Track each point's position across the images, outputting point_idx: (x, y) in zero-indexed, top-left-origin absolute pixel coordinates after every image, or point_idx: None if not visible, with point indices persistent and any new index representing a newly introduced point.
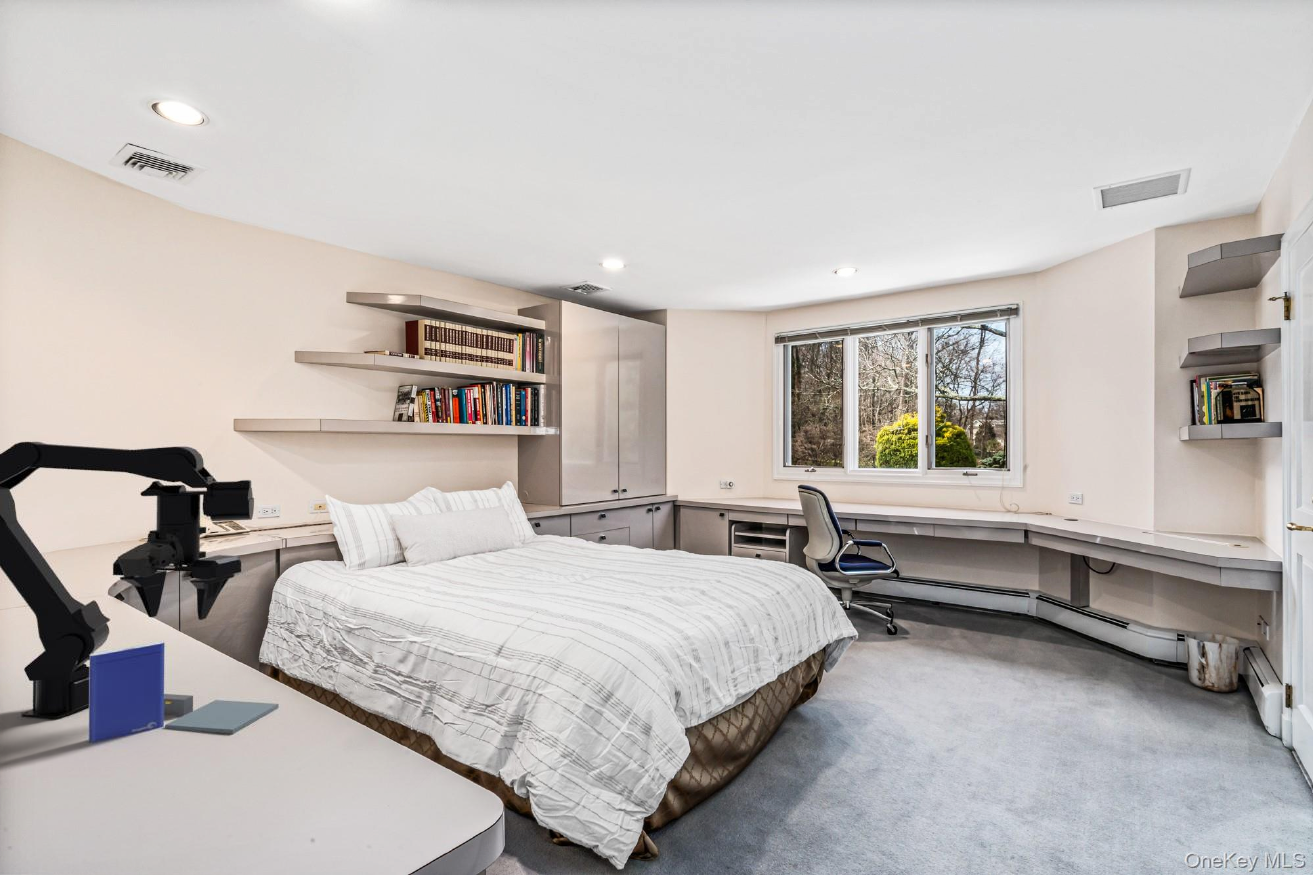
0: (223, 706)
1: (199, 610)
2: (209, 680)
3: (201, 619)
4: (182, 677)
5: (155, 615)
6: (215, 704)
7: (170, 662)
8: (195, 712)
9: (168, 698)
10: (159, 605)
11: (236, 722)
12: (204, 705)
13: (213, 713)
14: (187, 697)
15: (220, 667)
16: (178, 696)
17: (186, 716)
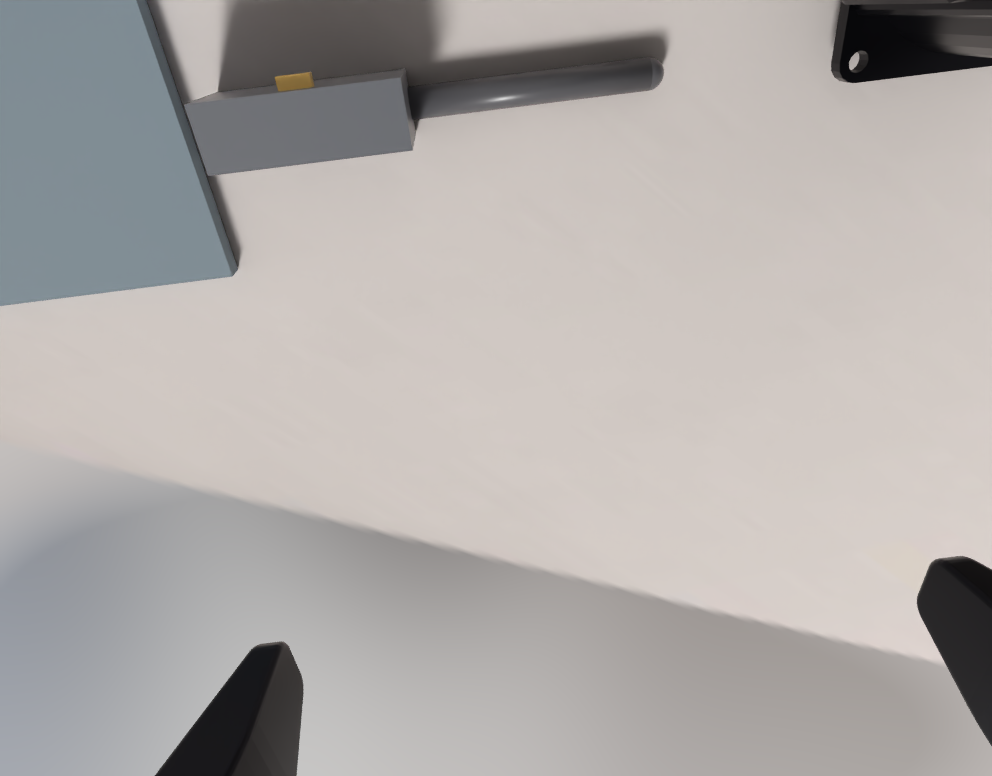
0: (91, 220)
1: (207, 753)
2: (553, 455)
3: (256, 649)
4: (705, 447)
5: (923, 601)
6: (162, 229)
7: (892, 537)
8: (142, 110)
9: (303, 92)
10: (985, 732)
11: None
12: (208, 204)
13: (29, 128)
14: (204, 140)
15: (636, 554)
16: (279, 138)
17: (124, 46)
